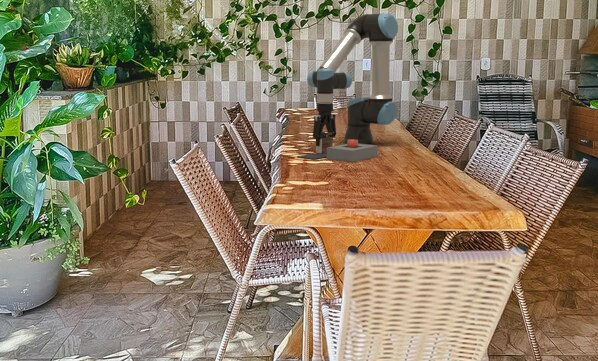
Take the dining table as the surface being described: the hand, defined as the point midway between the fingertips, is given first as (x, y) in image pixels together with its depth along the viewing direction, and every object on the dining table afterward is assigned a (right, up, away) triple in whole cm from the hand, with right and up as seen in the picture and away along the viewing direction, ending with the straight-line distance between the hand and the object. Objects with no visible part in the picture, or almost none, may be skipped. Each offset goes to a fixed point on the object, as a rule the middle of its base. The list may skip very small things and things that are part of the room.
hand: (324, 151), depth 326 cm
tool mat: (-5, -3, -11) cm, 12 cm away
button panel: (+12, -3, -12) cm, 17 cm away
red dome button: (+12, 0, -12) cm, 17 cm away
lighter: (0, -1, 0) cm, 1 cm away
